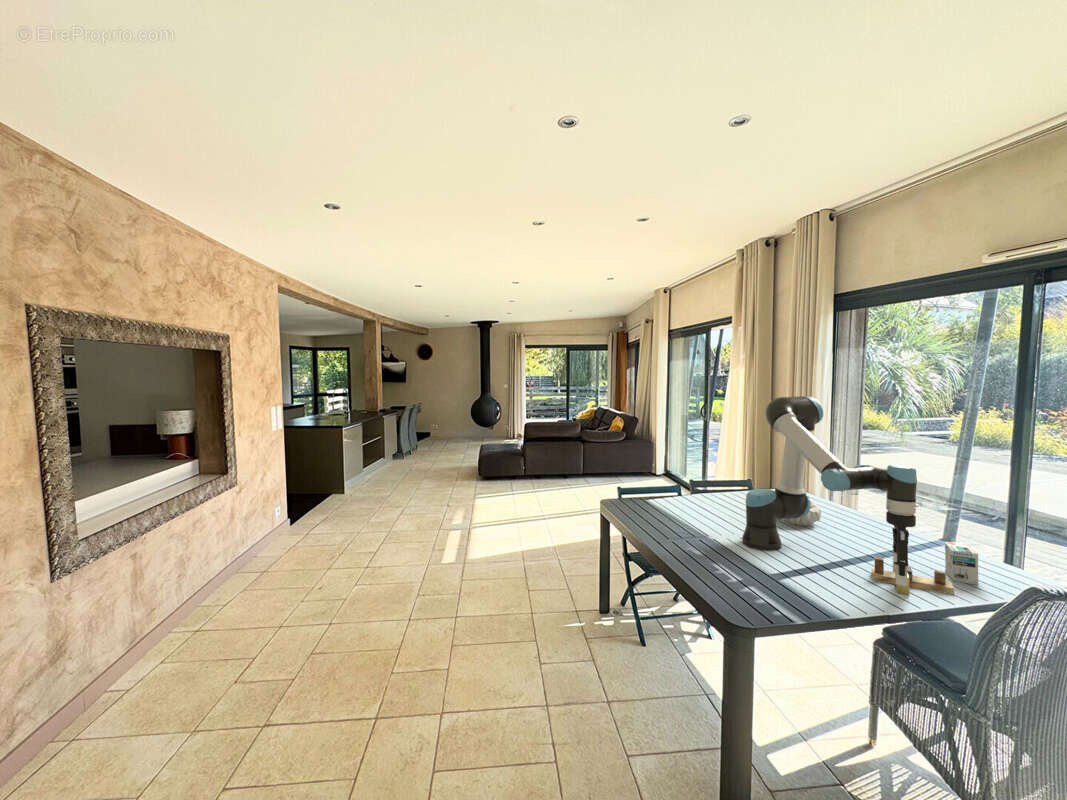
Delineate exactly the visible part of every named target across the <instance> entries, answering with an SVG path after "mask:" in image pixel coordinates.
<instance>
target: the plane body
mask: <svg viewBox="0 0 1067 800" xmlns="http://www.w3.org/2000/svg"><path fill="white" fill-rule="evenodd" d="M884 561H885V560H884V557H879V556H874V568H871V579H872V581H876V582H883V583H889V584H893V585H895V572H893V571H888V570H884V568H885V567H884ZM933 572H934V573H933V575H934V577H933V578H931V577H926V576H919V575H914V574H913V570H912V567H911V566H909V565H908V566H907V573H908V576H909V588H910V587H911V588H915V589H921V590H927V591H932V590H933V592H938V591H941V592H940V593H943V592H946V593H945V594H949V593H952V594H951V595H955V587H954V585H953V584H952V581H949V580H947V572H946V571H941V570H934V571H933Z"/></svg>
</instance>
